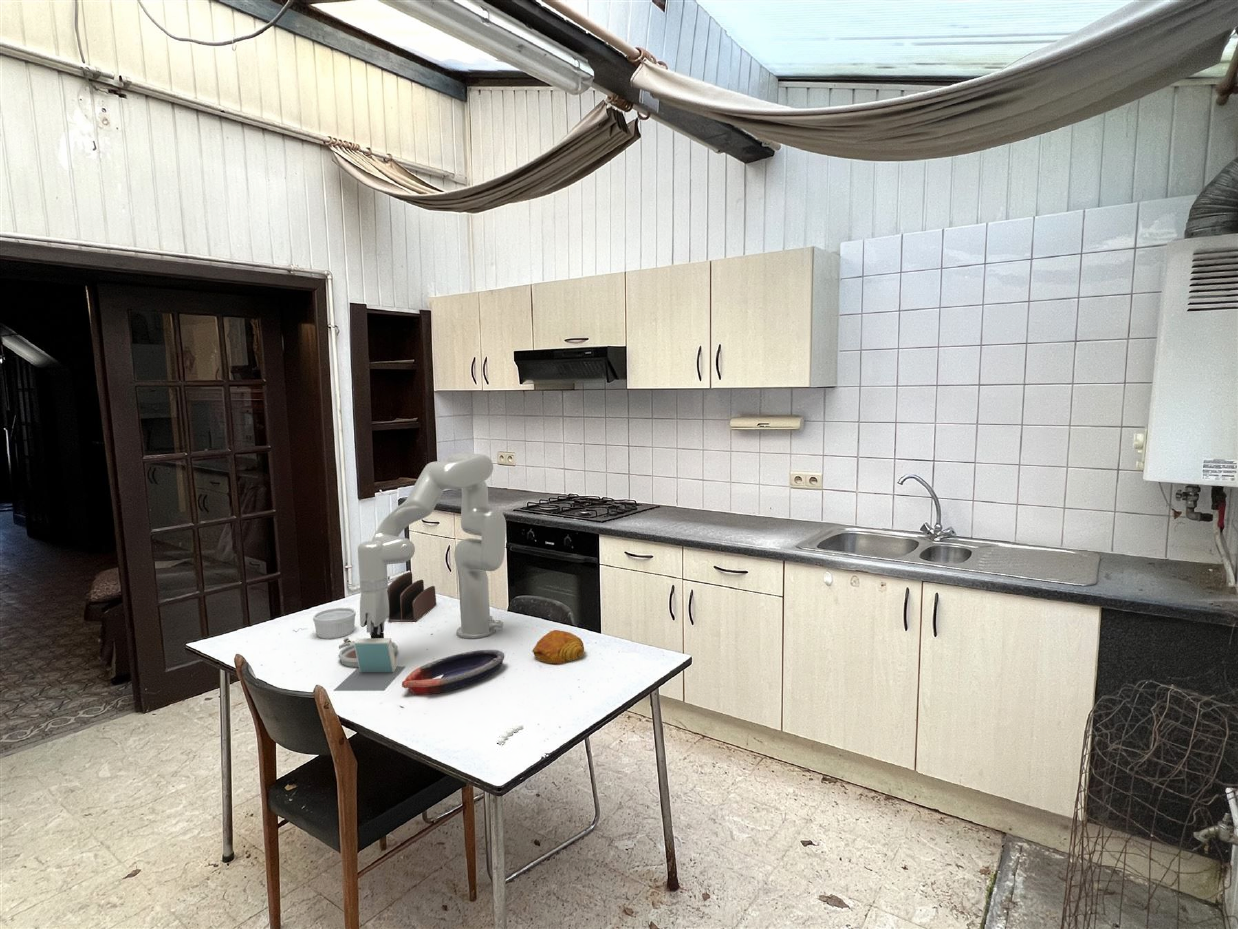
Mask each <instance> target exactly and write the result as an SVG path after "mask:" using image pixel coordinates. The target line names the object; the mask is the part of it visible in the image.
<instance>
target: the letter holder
mask: <svg viewBox="0 0 1238 929" xmlns="http://www.w3.org/2000/svg"><path fill="white" fill-rule="evenodd" d="M424 581H425V580H423V579H419V580H416V581H415V582H413V573H412V572H411V571H409V572H405V573H404V574H402V575H400V576H398V577H397V578H395V580H393V581H392V582H391V583H390V584H388V589H387V593H388V600H389V616H388V618H387V620H388V621H387V622H388V623H392V622H415V623H417V622H418V621H417V619H419V618H420V617H421V618H422V616H423V615H424V614H425V613H426V614H427V613H429V612H430V611H431V610H432V609H433V608H434V607H433V606H435V605H436V606H437V595H436V586H435V585H431V586H429V587H427V588H425V586H424V585H425V584H424V583H425V582H424ZM436 606H435V607H436ZM431 608H432V609H431ZM430 609H431V610H430ZM429 610H430V611H429ZM428 611H429V612H428ZM426 614H425V615H426ZM425 615H424V616H425ZM421 618H420V619H421ZM420 619H419V620H420Z"/></svg>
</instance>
